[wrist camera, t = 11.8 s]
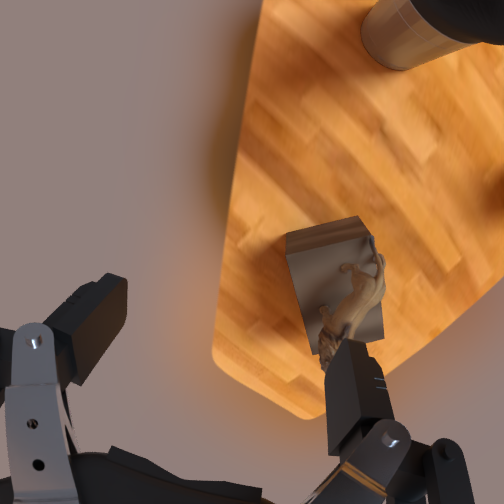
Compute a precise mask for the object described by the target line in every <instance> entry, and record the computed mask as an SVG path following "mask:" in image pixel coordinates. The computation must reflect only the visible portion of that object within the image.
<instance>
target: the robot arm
mask: <svg viewBox="0 0 504 504" xmlns="http://www.w3.org/2000/svg"><path fill="white" fill-rule="evenodd" d="M361 38H362V42H363V44H364V46H365V48H366V50H367V51H368V53H369V54H370V55H371V56H372V57H373V58H374V59H375V60H376V61H377V62H379V63H380V64H382V65H384V66H386V67H387V68H391V69H394V70H408V69H411V68H414V67H417V66H419V65H422V64H424V63H427V62H429V61H432V60H434V59H437V58H439V57H442V56H444V55H447V54H450V53H452V52H455V51H458V50H460V49H463V48H466V47H468V46H471V45H474V44H477V43H480V42H485V43H489V44H493V45H504V0H378V1H377V3H376V4H375V5H374V7H373V8H372V9H371V11H370V12H369V13H368V15H367V16H366V17H365V19H364V21H363V23H362V26H361ZM127 289H128V282H127V279H125V278H122V277H120V276H117V275H114V274H111V273H106V274H105V275H104V276H103V277H102V278H101V279H100V280H99V281H98V282H93V281H92V282H89V283H87V284H85V285H82V286H80V287H79V288H78V289H77V290H76V291H75V292H74V293H73V294H72V296H70V297H69V298H67V299H66V302H63V303H62V304H61V305H60V306H59V307H58V308H57V309H56V310H55V311H54V312H53V313H52V314H51V315H50V316H49V317H48V318H47V319H46V320H45V321H44V322H43V323H28V324H25V325H23V326H21V327H20V328H19V329H17V330H16V331H14V330H9V329H4V328H0V407H1V406H2V404H3V403H4V401H5V419H6V420H5V421H6V437H7V447H8V458H9V466H10V473H11V476H10V477H6V478H3V479H0V504H275V503H273V502H271V501H269V500H267V499H264V498H262V497H261V495H262V488H256V487H251V486H245V485H240V484H236V483H230V482H226V481H197V480H184V479H181V478H179V477H177V476H175V475H173V474H171V473H170V472H168V471H166V470H164V469H163V468H161V467H159V466H157V465H156V464H154V463H153V462H151V461H149V460H148V459H146V458H143V457H140V456H137V455H135V454H132V453H129V452H127V451H124V450H122V449H119V448H117V447H115V446H111V448H110V450H109V452H108V453H100V452H85V453H81V452H80V448H79V445H78V442H77V439H76V436H75V431H74V427H73V421H72V416H71V411H70V407H69V400H68V394H67V389H66V388H67V386H68V385H69V383H70V382H73V383H75V384H77V385H79V386H82V384H83V383H84V381H85V380H86V379H87V377H88V376H89V374H90V373H91V371H92V370H93V368H94V367H95V365H96V364H97V363H98V361H99V360H100V358H101V357H102V355H103V354H104V353H105V351H106V350H107V348H108V347H109V346H110V344H111V343H112V341H113V340H114V339H115V337H116V336H117V334H118V333H119V332H120V330H121V329H122V327H123V325H124V323H125V320H126V315H127ZM324 385H325V400H326V416H327V434H328V455H329V456H340V463H339V464H338V465H337V466H336V468H334V470H333V471H332V472H331V473H330V474H329V475H328V476H327V477H326V479H325V480H324V481H323V482H322V483H321V484H320V485H319V486H318V487H317V488H316V489H315V490H314V491H313V492H312V493H311V494H310V495H309V496H308V497H307V498H306V499H305V500H304V501H303V502H302V503H301V504H382V503H383V502H384V500H385V499H386V504H426V497H425V495H426V494H428V502H429V504H475V502H474V497H473V492H472V488H471V483H470V479H469V475H468V471H467V466H466V462H465V459H464V455H463V452H462V450H461V448H460V447H459V445H458V444H457V443H455V442H454V441H452V440H450V439H447V438H441V439H438V440H437V441H436V442H435V443H433V445H431V446H429V445H425V444H423V443H419V442H417V441H414V440H411V436H410V433H409V431H408V430H407V429H406V427H405V426H404V425H402V424H401V423H399V422H397V421H395V418H394V414H393V410H392V406H391V403H390V398H389V394H388V391H387V390H386V388H387V387H386V383H385V381H384V375H383V372H382V368H381V367H380V365H379V364H378V363H377V361H376V360H375V358H374V357H369V355H368V351H367V348H366V344H365V342H362V341H358V340H353V339H348V338H344V339H343V340H342V342H341V344H340V345H339V347H338V349H337V351H336V353H335V355H334V357H333V359H332V361H331V363H330V365H329V366H328V368H327V371H326V375H325V380H324Z"/></svg>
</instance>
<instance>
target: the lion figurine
mask: <svg viewBox="0 0 504 504" xmlns="http://www.w3.org/2000/svg"><path fill="white" fill-rule="evenodd" d="M374 242H375V241H374V236H373V235H371V236H370V239H369V244H370V247H371V250H372V252H373V254H374V258H373V261H374V263H375V264H377V272H376V274H375V276H374V277H372V276H371V275H370V274H368V273H366V272H363V271H361V270H360V268H359V264H352V263H345V264H343V265H342V266H341V271H342V272H343V273H346V274H348V273H349V272H350V271H352V274H351V283H352V285H353V289H354V291H353V292H352V293H350V294H349V295H347V296H346V297H345V298H344V299H343V300H342V301H341V302H340V304H339V305H338V307H337V309H336V310H335V313H334V314H333V315H331V314H330V311H331V310H330V307H328V306H321V307H320V309H319V310H320V313H321V314H322V315H323V318H322V322H323V325H324V327H323V328H322V329H321V331H320V333H319V334H318V337H319V340H318V352H319V355H320V359H319V361H320V364H321V369H322V370H323V371H324V372H325V374H326V371H327V368H328V366H329V365H330V363H331V361H332V359H333V357H334V355H335V353H336V351H337V349H338V347H339V345H340V344H341V342H342V340H343V339H344V338H348V339H353V338H354V334H355V330H356V329H357V328H358V326H359V325H360V324H361V322H362V321H363V319H364V317H365V315H366V313H367V312H368V311H369V310H370V309H371V308H373V307H374V306H376V305H377V304H378V303H379V302H380V301H381V300H382V298H383V296H384V293H385V290H386V285H385V280H384V268H385V265H386V262H385V259H384V257H383V255H382V254H379V253H378V252H377V250H376V248H375V244H374ZM353 340H354V339H353Z"/></svg>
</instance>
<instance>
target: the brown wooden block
mask: <svg viewBox="0 0 504 504" xmlns="http://www.w3.org/2000/svg"><path fill="white" fill-rule="evenodd" d="M370 236H371V233H370V232H369V231H368V229H367V228H366V226H365V225H364V223H363V222H362V221H361V219H360V218H359V216H354V217H349V218H345V219H341V220H337V221H333V222H329V223H325V224H321V225H317V226H313V227H308V228H304V229H300V230H296V231H292V232H288V233H286V252H285V256H286V260H287V263H288V267H289V270H290V274H291V277H292V281H293V284H294V288H295V292H296V295H297V299H298V303H299V306H300V310H301V314H302V317H303V321H304V325H305V329H306V332H307V336H308V340H309V344H310V347H311V351H312V355H315V354H319V352H318V340H319V337H318V334H319V333H320V331H321V329H322V328H323V327H324V325H323V322H322V318H323V315H322V314H321V313H320V310H319V309H320V307H321V306H328V307H330V310H331V311H330V314H331V315H333V314H334V313H335V310H336V309H337V307H338V305H339V304H340V302H341V301H342V300H343V299H344V298H345V297H346V296H347V295H349V294H350V293H352V292H353V291H354V289H353V285H352V283H351V274H352V271H350V272H349V273H348V274H346V273H343V272H342V271H341V266H342V265H343V264H345V263H352V264H359V268H360V270H361V271H363V272H366V273H368V274H370V275H371V276H372V277H374V276H375V274H376V272H377V267H376V264H375V263H374V261H373V258H374V254H373V252H372V250H371V247H370V244H369V239H370ZM353 339H354V340H358V341H362V342H365V343H369V342H373V341H377V340H381V339H384V327H383V317H382V307H381V301H380V302H379V303H378V304H377V305H376V306H374V307H373V308H371V309H370V310H369V311H368V312H367V313H366V315H365V317H364V319H363V321H362V322H361V324H360V325H359V326H358V328H357V329H356V330H355V334H354V338H353Z"/></svg>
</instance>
